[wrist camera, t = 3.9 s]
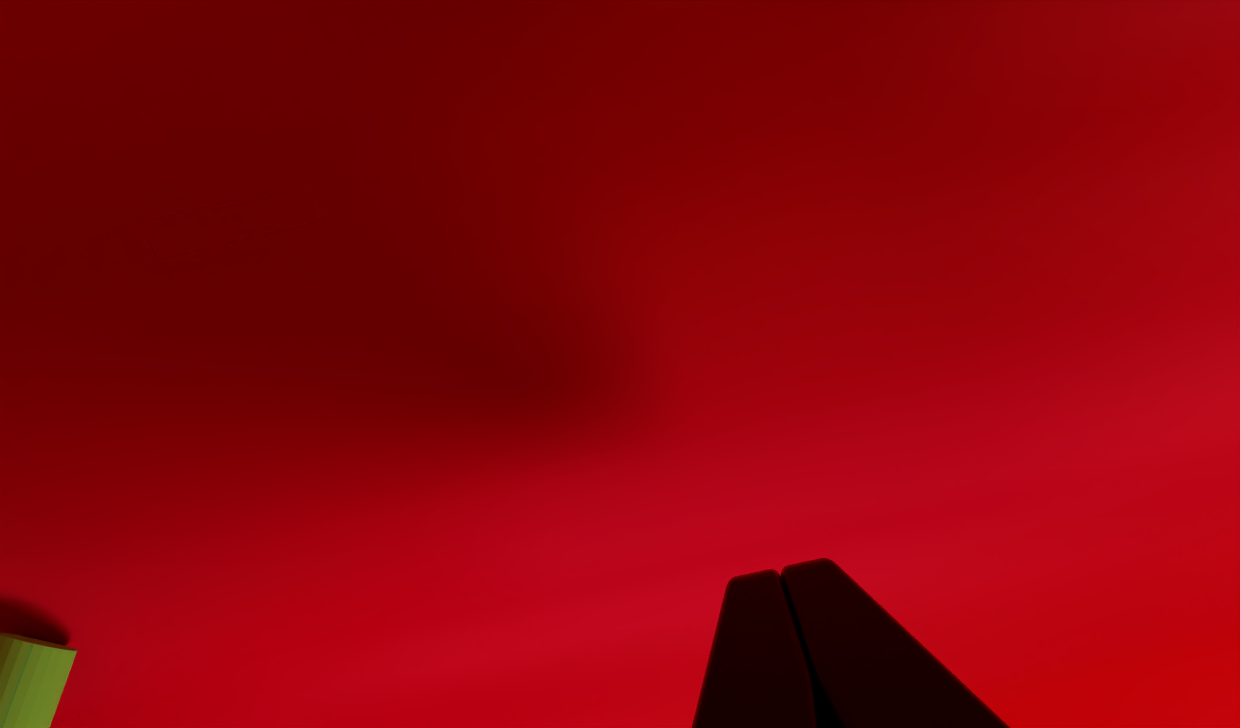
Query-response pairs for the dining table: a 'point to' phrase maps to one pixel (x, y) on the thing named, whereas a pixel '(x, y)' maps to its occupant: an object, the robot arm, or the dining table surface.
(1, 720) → the gear
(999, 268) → the dining table surface
